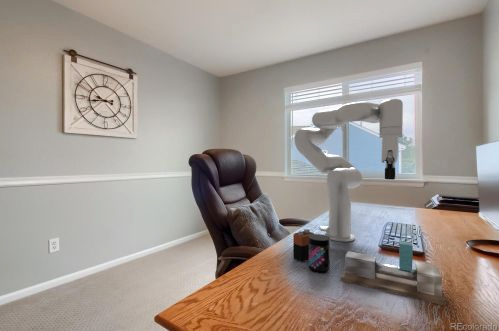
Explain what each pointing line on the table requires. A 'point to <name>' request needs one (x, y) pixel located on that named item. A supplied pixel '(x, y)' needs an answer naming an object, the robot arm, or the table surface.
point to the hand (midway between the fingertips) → (390, 178)
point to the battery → (301, 245)
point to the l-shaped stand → (400, 264)
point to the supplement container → (319, 253)
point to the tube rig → (394, 278)
